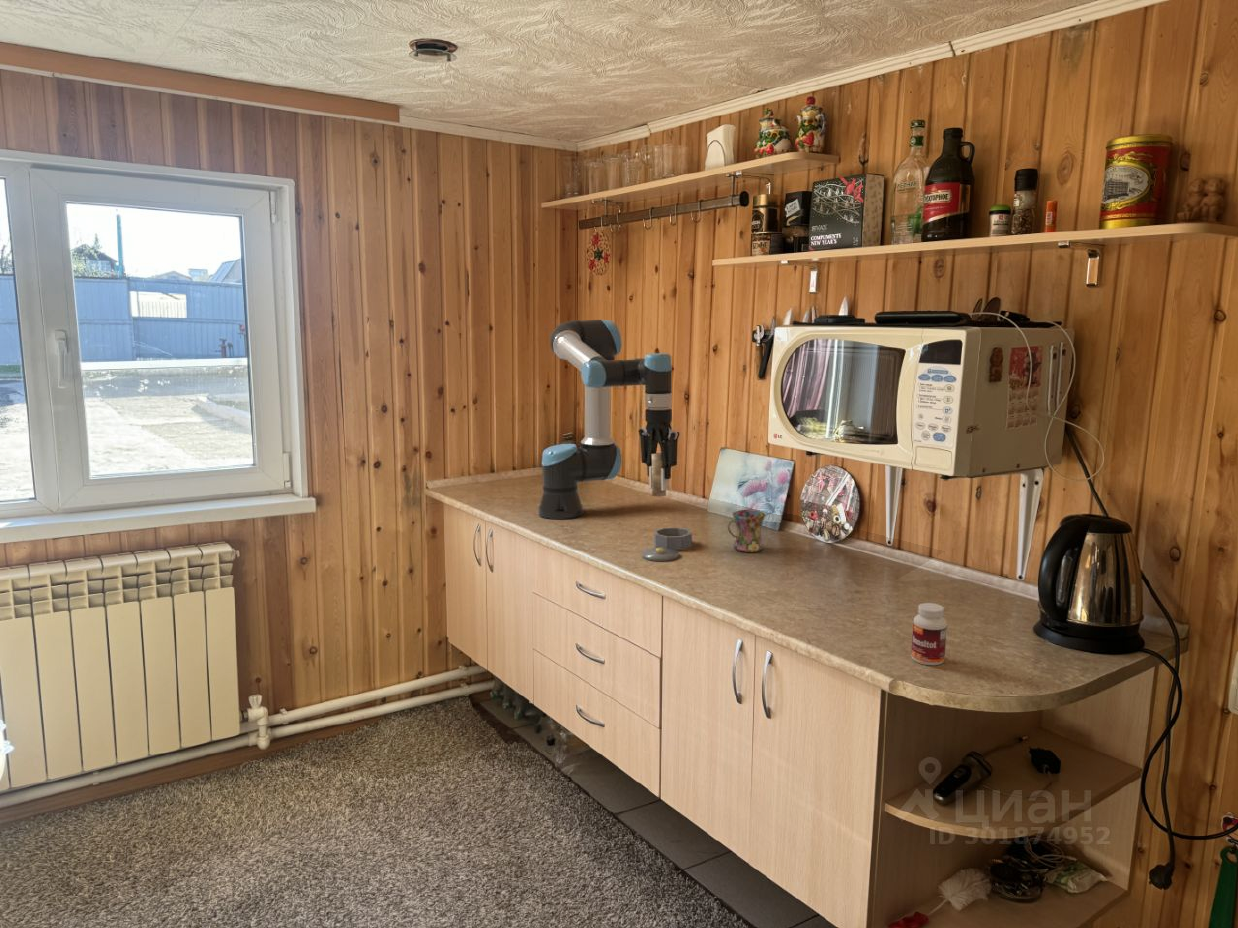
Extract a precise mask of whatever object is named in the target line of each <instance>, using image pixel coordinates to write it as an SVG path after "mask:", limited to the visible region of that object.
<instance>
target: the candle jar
mask: <svg viewBox="0 0 1238 928" xmlns="http://www.w3.org/2000/svg"><path fill="white" fill-rule="evenodd" d="M691 531H692V530H690V529H688V528H683V527H676V526H675V527H661V528H658V529H655V530H653V545H654V548H668V549H673V550H676V551H685V550H688V549H690V548H692V546H693V533H692V532H691Z"/></svg>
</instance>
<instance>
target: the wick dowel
mask: <svg viewBox="0 0 1238 928" xmlns="http://www.w3.org/2000/svg"><path fill="white" fill-rule="evenodd" d="M662 467H663V461H662V455H661V452H656V453H653V454H652V489H651V496H653V497H666V496H667V490H665V491H661V468H662Z"/></svg>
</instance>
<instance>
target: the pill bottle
mask: <svg viewBox="0 0 1238 928" xmlns="http://www.w3.org/2000/svg"><path fill="white" fill-rule="evenodd" d="M944 610H945V608H944V607H943V606H942V605H940V604H938V603H931V602H925V603H920V604H918V607H917V615H915V616H914V618H913V623H912V641H911V653H910V655H911V656H910V657H911V659H912V660H913V661H914V662H915V663H918V664H921V665H925V666H939V665H941V664H943V663H944V661H945V655H946V645H947V644H946V642H947V640H946V639H947V631H948V630H947V627H948V623H947V620H946V618H944V617H943V616H944V612H945V611H944Z"/></svg>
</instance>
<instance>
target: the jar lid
mask: <svg viewBox="0 0 1238 928" xmlns="http://www.w3.org/2000/svg"><path fill="white" fill-rule="evenodd" d="M641 554H642V558H643V559H644V560H646V561H650V562H670V561H673V560H677V559H678V558H679V552H678V550H673V549H668V548H655V547H653V548H652V547H651V548H649V549H645V550H643V551H642V553H641Z"/></svg>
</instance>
